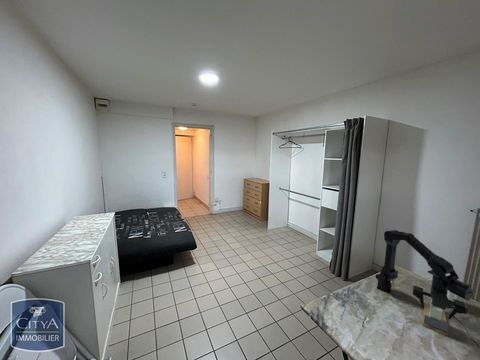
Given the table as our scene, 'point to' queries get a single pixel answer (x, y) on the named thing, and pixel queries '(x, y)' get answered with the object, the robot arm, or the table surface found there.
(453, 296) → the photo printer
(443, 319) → the shelf board
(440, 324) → the bookend
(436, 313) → the book
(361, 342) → the table surface
